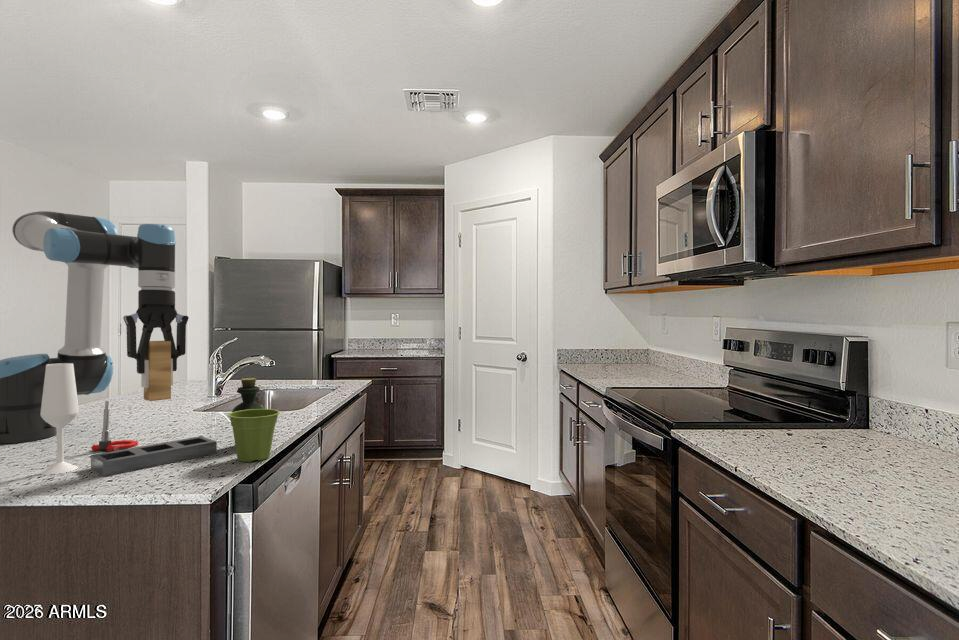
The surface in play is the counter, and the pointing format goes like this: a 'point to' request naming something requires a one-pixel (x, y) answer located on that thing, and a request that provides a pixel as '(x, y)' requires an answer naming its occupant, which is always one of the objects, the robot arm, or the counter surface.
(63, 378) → the champagne flute
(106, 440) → the tow hook
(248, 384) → the potion bottle
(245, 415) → the plant pot
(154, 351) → the ochre peg
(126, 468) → the grey slotted tray
